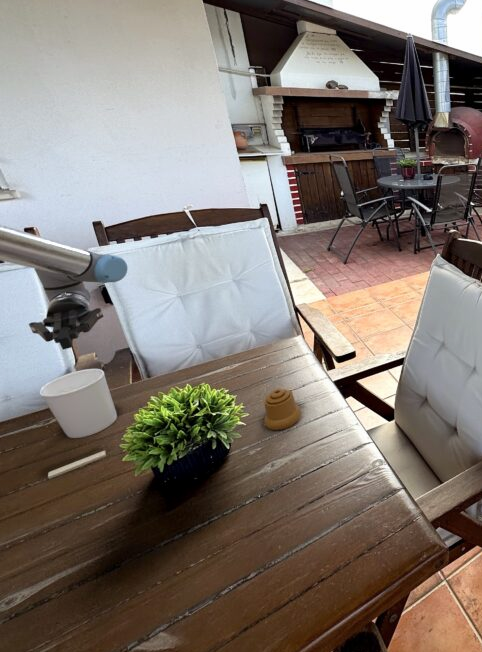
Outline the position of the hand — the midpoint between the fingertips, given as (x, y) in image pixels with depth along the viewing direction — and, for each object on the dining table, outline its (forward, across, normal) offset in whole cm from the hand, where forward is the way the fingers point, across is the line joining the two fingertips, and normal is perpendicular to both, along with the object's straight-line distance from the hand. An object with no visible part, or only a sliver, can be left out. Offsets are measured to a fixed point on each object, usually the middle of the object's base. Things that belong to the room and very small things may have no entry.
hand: (65, 343), depth 91 cm
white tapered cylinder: (+10, 0, +18) cm, 20 cm away
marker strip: (+23, -2, +17) cm, 29 cm away
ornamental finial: (+39, +32, +18) cm, 53 cm away
